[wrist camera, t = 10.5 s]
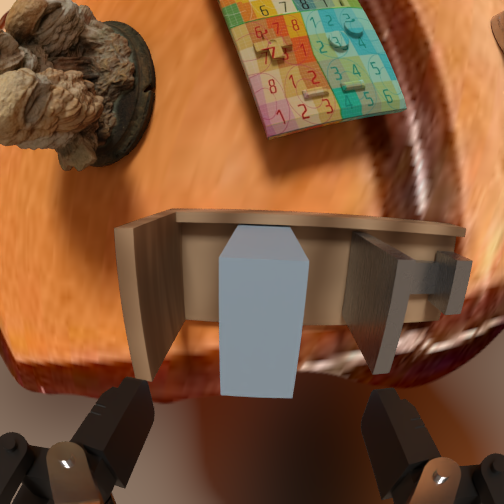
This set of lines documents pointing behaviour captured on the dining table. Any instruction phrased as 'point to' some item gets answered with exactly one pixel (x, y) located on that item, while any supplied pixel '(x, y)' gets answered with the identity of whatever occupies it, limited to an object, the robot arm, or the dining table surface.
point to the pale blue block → (261, 310)
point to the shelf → (207, 268)
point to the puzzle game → (311, 62)
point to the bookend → (395, 293)
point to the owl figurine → (73, 83)
